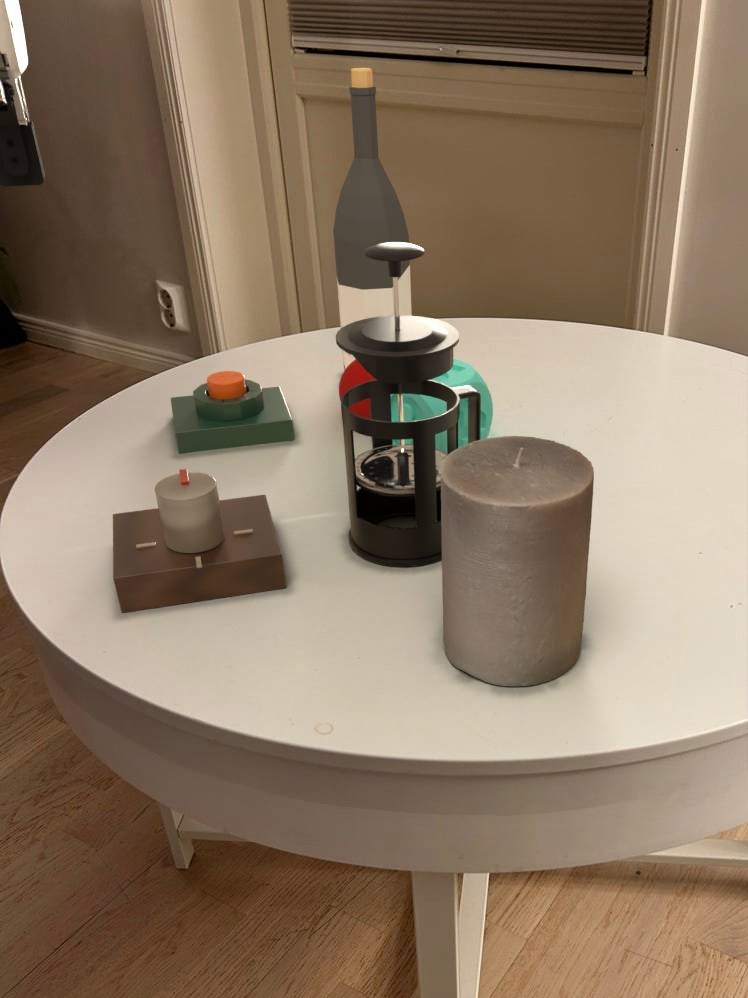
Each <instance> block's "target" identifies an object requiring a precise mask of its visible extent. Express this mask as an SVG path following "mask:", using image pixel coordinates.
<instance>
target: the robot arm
mask: <svg viewBox="0 0 748 998" xmlns="http://www.w3.org/2000/svg"><path fill="white" fill-rule="evenodd" d="M25 35H26V34H25V29H24V24H23V18H22V13H21V7H20V1H19V0H0V186H1V187H5V188H8V187H24V186H25V187H26V186H41V185H43V184H44V182H45V178H46V174H45V169H44V165H43V161H42V156H41V152H40V148H39V143H38V139H37V134H36V130H35V126H34V122H33V121H30V114H29V110H28V105H27V101H26V96H25V91H24V87H23V83H22V74H24V72H25V71H26V70H27V67H28V65H29V56H28V50H27V43H26V37H25Z"/></svg>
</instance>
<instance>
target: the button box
mask: <svg viewBox="0 0 748 998" xmlns="http://www.w3.org/2000/svg"><path fill="white" fill-rule="evenodd" d="M245 384H246V391H247V394H246V395H243V396H240V397H237V398H233V399H215V398H211V397H209V392H208V385H207V382H205V383H201V384H200V385H199V386H197V387H196V388H195V389H194V390H192V395H183V396H174V397H170V405H171V412H172V419H173V427H174V428H173V429H174V434H175V435H174V436H175V439H176V446H177V451H178V454H179V455H181V454H182V455H183V454H189V453H199V452H206V451H215V450H223V449H233V448H240V447H250V446H259V445H266V444H267V445H269V444H274V443H275V444H276V443H285V442H293V441H295V431H294V429H295V428H294V421H293V418H292V416H291V415H292V414H291V413H290V410H289V407H288V404H287V402H286V399H285V396H284V393H283V391H282V388H281V386H271V387H262V386H261V384H260V383H258V382H255V381H253V380H251V379H245Z"/></svg>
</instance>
